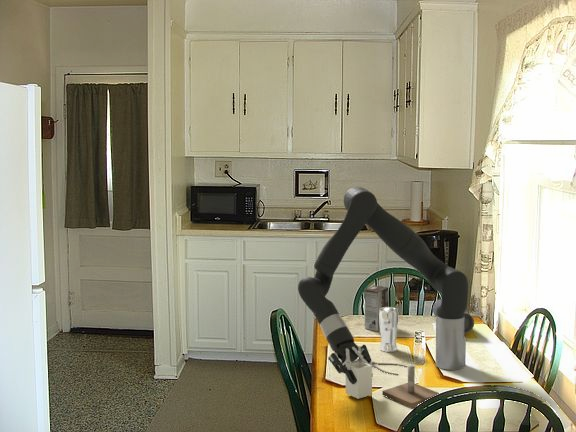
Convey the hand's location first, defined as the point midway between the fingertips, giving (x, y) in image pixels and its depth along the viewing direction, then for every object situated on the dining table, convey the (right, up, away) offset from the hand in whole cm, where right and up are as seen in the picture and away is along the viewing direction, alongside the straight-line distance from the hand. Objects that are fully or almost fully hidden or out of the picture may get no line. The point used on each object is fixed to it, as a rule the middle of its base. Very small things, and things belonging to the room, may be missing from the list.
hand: (362, 380), depth 207 cm
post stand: (+15, -5, +1) cm, 15 cm away
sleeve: (-1, -5, +2) cm, 5 cm away
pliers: (+8, -3, +27) cm, 28 cm away
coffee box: (+13, +4, +73) cm, 74 cm away
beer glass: (+14, 0, +45) cm, 47 cm away
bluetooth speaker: (+43, +4, +69) cm, 82 cm away
